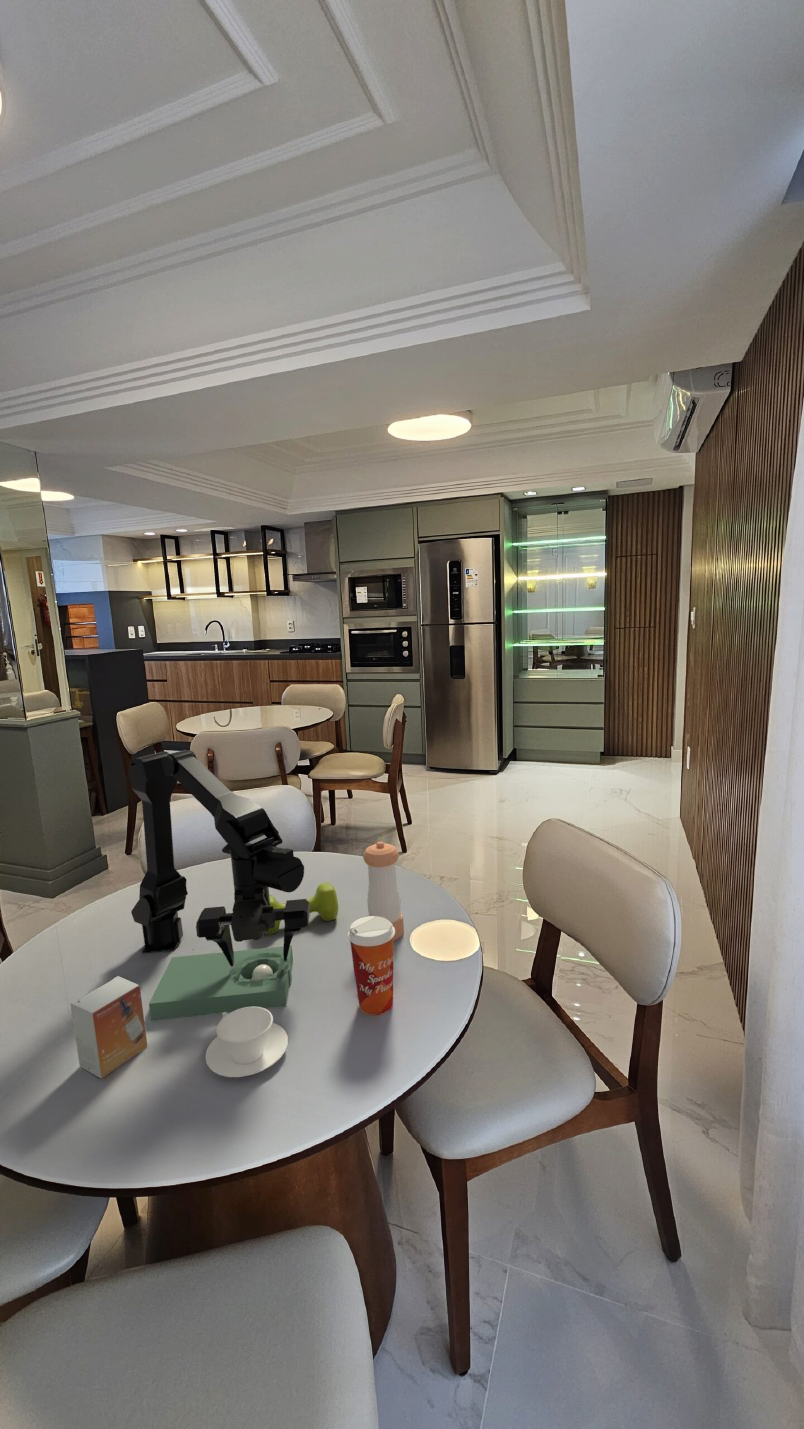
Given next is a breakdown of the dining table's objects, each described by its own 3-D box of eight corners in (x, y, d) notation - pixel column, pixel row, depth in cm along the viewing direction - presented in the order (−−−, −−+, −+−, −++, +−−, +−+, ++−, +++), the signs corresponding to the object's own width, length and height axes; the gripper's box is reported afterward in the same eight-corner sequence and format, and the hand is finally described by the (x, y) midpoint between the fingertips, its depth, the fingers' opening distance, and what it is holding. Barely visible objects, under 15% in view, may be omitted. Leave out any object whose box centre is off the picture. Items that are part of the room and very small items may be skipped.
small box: (101, 1080, 90) (90, 1014, 89) (78, 1067, 93) (68, 1003, 92) (149, 1046, 97) (140, 984, 95) (126, 1035, 100) (118, 974, 98)
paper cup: (364, 1025, 99) (358, 943, 97) (345, 1000, 106) (339, 922, 103) (408, 1008, 103) (403, 929, 100) (387, 985, 109) (382, 910, 107)
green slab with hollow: (151, 1020, 103) (148, 1003, 103) (173, 972, 117) (172, 957, 117) (287, 1006, 105) (286, 989, 105) (294, 960, 119) (293, 945, 118)
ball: (265, 994, 110) (247, 985, 109) (268, 982, 113) (250, 974, 113) (275, 977, 110) (256, 968, 109) (277, 965, 113) (259, 957, 113)
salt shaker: (395, 944, 122) (390, 851, 119) (361, 939, 125) (355, 847, 122) (409, 926, 129) (404, 837, 126) (376, 921, 132) (371, 834, 128)
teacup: (247, 1020, 102) (244, 990, 101) (305, 1042, 96) (302, 1011, 95) (188, 1068, 92) (184, 1035, 91) (249, 1097, 86) (245, 1062, 85)
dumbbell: (262, 941, 127) (259, 908, 125) (257, 923, 134) (254, 891, 133) (342, 923, 132) (339, 891, 131) (333, 907, 139) (330, 877, 138)
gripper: (183, 906, 99) (194, 995, 102) (302, 895, 101) (310, 984, 104) (199, 876, 110) (208, 958, 113) (306, 867, 112) (313, 948, 115)
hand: (259, 962), depth 111 cm, fingers open, 9 cm apart
